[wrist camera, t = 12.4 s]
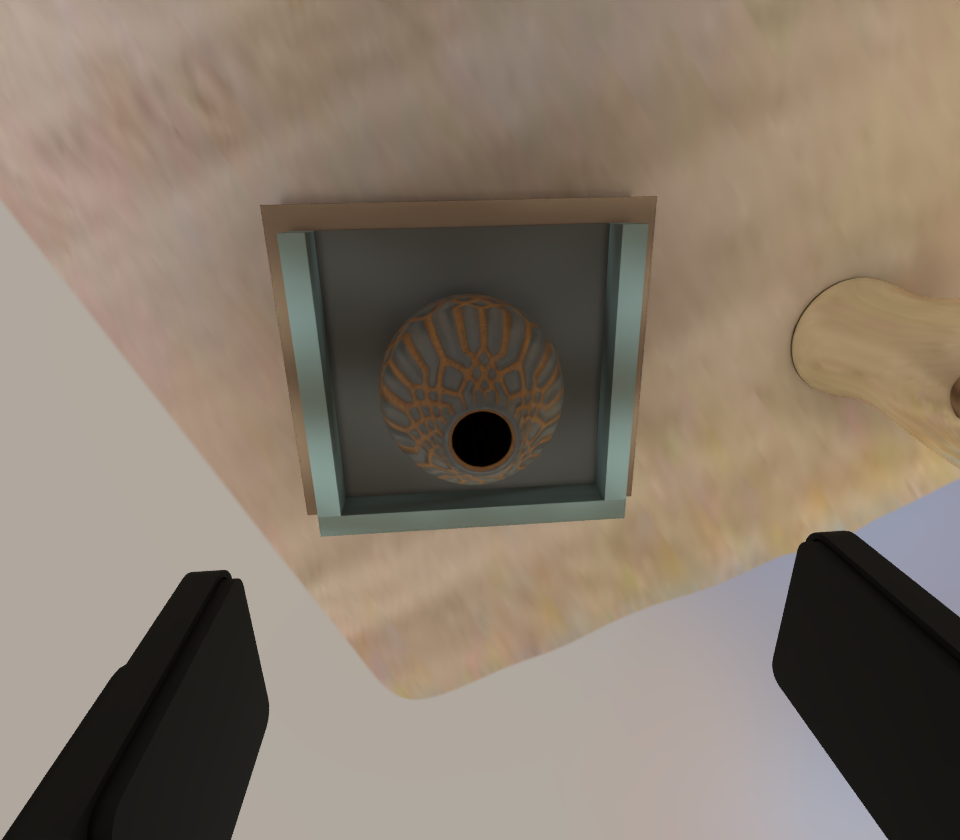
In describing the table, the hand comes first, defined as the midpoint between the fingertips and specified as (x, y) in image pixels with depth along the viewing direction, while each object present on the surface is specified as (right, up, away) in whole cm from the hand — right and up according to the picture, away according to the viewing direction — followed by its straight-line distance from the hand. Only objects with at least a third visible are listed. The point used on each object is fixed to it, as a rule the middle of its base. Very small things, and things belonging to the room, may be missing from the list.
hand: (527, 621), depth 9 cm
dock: (-2, +7, +18) cm, 20 cm away
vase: (-1, +6, +15) cm, 17 cm away
